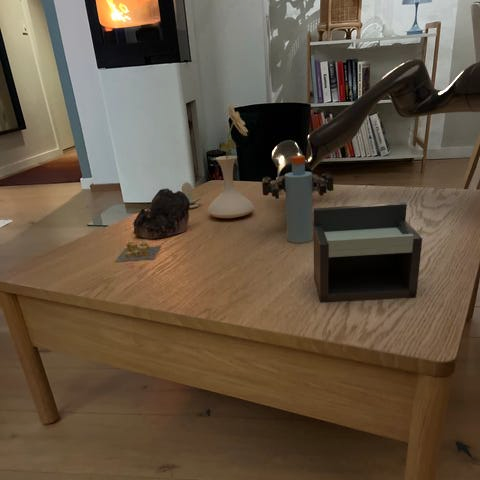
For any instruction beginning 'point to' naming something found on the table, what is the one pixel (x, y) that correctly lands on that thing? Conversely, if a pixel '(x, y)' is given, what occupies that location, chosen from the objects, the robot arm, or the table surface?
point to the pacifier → (189, 194)
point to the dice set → (138, 252)
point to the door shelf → (365, 253)
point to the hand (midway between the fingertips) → (299, 192)
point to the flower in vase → (230, 179)
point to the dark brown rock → (163, 215)
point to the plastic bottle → (299, 202)
